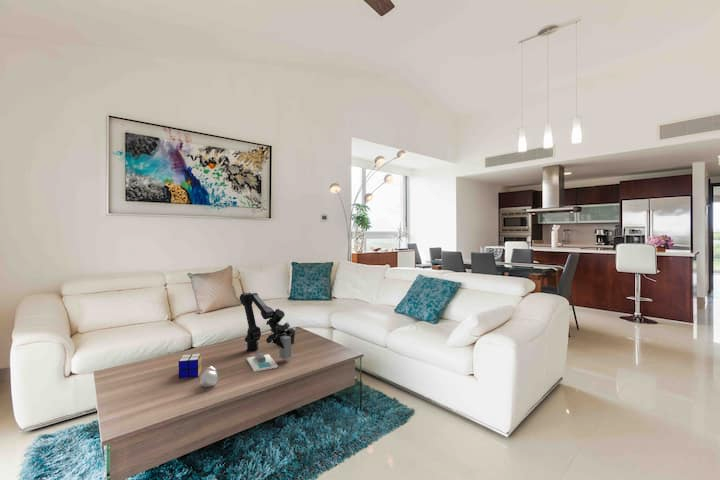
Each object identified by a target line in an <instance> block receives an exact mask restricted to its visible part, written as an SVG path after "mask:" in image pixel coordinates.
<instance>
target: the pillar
mask: <svg viewBox="0 0 720 480" xmlns="http://www.w3.org/2000/svg"><path fill="white" fill-rule="evenodd" d="M280 341H281V342H282V344H283V347H284V348H283V349H282V348H281V347H279V346H278V347H279V351H278V352H279V358H281V359H283V360H286V359H289V358H291V357H292V344H291V337H289V336H282V337H280Z"/></svg>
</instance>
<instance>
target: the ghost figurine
mask: <svg viewBox="0 0 720 480" xmlns="http://www.w3.org/2000/svg"><path fill="white" fill-rule="evenodd" d="M199 376H200V377H199V383H200V384H201V386H203V387H204V388H210V387H213V386H214V385H216V384H217V383H218V382H217V381H218V379H219V374H218V371H217V368H215V367H213V366H212V365H210V366H207V367H206V369H205V370H204V371H203V372H202V373H200V375H199Z"/></svg>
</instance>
